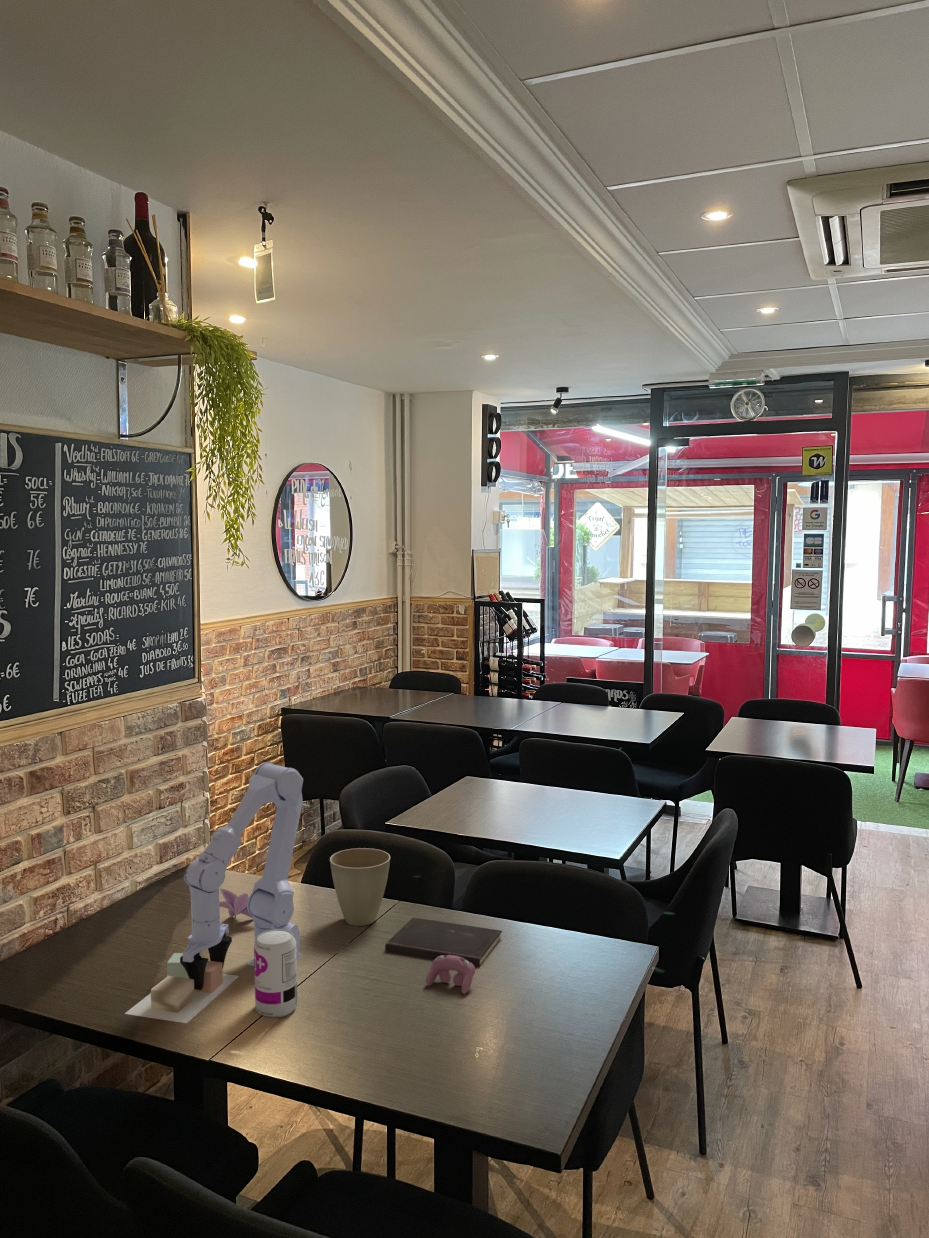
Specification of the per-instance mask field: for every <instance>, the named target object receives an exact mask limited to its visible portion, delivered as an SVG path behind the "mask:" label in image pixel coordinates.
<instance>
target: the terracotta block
mask: <svg viewBox="0 0 929 1238" xmlns="http://www.w3.org/2000/svg"><path fill="white" fill-rule="evenodd" d="M223 972H224V969H223V970H222V962H214V961H210V960H208V962H207V964H206V968H205V973H204V985H203V989H202V990H195V989H194V991H199V992H206V993H212V992H213V991H215V990H216V989H217V988H218V987H219V986H220V985H221V984H222V983H223V974H224V973H223Z"/></svg>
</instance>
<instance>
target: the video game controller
mask: <svg viewBox="0 0 929 1238" xmlns="http://www.w3.org/2000/svg"><path fill="white" fill-rule="evenodd" d="M451 971H455V972H456V973H455V974H454V976H453V978H452V974H451ZM475 973H476V966H474V965H473V964H472V963H470V962H469V961H467V960H466V959H464V958H462V957H459V956H455V955H441V956H438V957H437V958H436V959H435V960H434V959H433V961H432V963H431V965H430V968H429V970H428V972H427V974H426V978H425V984H426V987H430V986H432V985H433V984H434V982H435V981H436V979H437V977H439V980H440V982H441V983H443V984H445V983H446V984H447V983H449V982H450V981H451V980H452V983H453V984H454V985H455V986H457V987H460V986H461V993H462V994H463V995H466V994H467V993H468V992H469V990H470V989H471V985H472V983H473V978H474V975H475Z"/></svg>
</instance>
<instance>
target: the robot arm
mask: <svg viewBox="0 0 929 1238" xmlns="http://www.w3.org/2000/svg"><path fill="white" fill-rule="evenodd" d="M303 783H304V777H302V775H301V774H300V772H299V770H297V769H295V768H293V767H286V766H281V765H277V764H274V763H272V762H268V761H266V762H262V763H261V764H259V765H258V766H257V767H256V768H255V771H254V773H253V774H252V775H251V776H250V778H249V782H248V788H247V791H246V792H245V794H244V795H243V798H242V799H241V801H240V803H239V804H238V806H237V807H236V809H235V811H234V813H233V814H232V817H231V818H230V820H229V822H228V824H227V825H226V826H223V827H219V828H218V829H217V830H216V831H215V832H213V834H212V835H211V840H210V841H209V842H208V844H207V846H206V847H205V848H204V850H203V852H202V853H200V855H199V857H198V858H196V859H195V860H193V861H192V862H191V863H190V864H189V865H188V867H187V869H186V872H185V874H183V879H184V881H185V883H186V884H187V885H188V886H189V893H190V914H191V915H190V916H191V934H190V935H189V936H187V941H188V945H187V946H186V948H185V950H183V951H182V953H183V956H181V957H180V963H181V964H182V965H183V967H184V968H185V970H186V972H187V974H188V977H189V979H194V989H195V990H202V989H203V985H204V973H205V968H206V964H207V962H208V961H214V962H222V970H223V971H224V966H225V961H226V956H227V953H228V951H229V947H230V945H231V944H232V942H233V937H232V936H229V935H228V934H229V932H230V931H229V930H230V929H229V924H228V923H221V914H220V913H221V911H220V908H221V907H220V905H219V902H220V887H221V886H222V885H223V884H224V883H225V879H226V871H227V869H228V865H229V863H230V862H231V860H232V859H233V857H234V855H235V854H236V852H237V851H238V849H239V847H240V846H241V845H242V836H241V835H242V833H243V832H244V830H246V828H247V827H248V825H249V824H250V823H251V821H252V820H253V819H254V817H256V815H257V813H259V810H260V809H261V808H262V806H264V805H266V804H269V803H270V804H271V803H273V804H274V805H275V806H276V808H275V809H276V810H275V814H274V820H273V824H272V830H271V835H270V839H269V840H270V841H269V843H268V849H267V854H266V855H267V856H266V859H265V865H264V870H263V874H262V877H261V878H259V879H258V880H256V881H255V882H254V884H253V888H252V891H251V892H250V895H248V896H249V898H248V901H247V910H248V912H249V913H250V914H251V915H252V916H253V918H252V921H253V925H254V927H253V928H254V943H255V942H256V940H257V937H258V936H259V935H260V934H261V933H263V932H266V931H269V930H275V929H283V930H288V931H290V932H291V933H292V934H293V937H294V939H295V940H296V960H298V959H299V958H300V957H301V956H302V953H301V952H300V951H301V949H300V947H301V946H300V942H301V941H300V928H299V926H298V925H297V924H294V923H292V922H291V921H290V920H291V919H292V917H293V915H294V911H295V906H294V892H295V891H294V889H293V888H292V886H291V885H290V882H289V881H288V879H289V874H290V869H291V865H292V859H293V855H294V854H293V853H294V848H295V844H296V839H297V833H298V829H299V822H300V818H301V813H302V807H303V800H304V798H303V793H302V790H303ZM203 951H208V954H209V958H208V957H202V955H201V953H202V952H203ZM247 966H251V967H254V957H253V958H252V959H250V961H249V962H248V963H247Z"/></svg>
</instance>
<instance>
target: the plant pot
mask: <svg viewBox="0 0 929 1238" xmlns="http://www.w3.org/2000/svg"><path fill="white" fill-rule="evenodd" d="M329 862H330V871H331V877H332V881H333V885H334V890H335V895H336V897H337V901H338V905H339V908H340V910H341V913H342V915H343V918H344V921H345V923H346V924H348V925H351V926H354V927H357V926H358V927H362V926H363V927H364V926H369V925H371V924H373V923H374V922H375V921H376V919H377V916H378V914H379V911H380V908H381V905H382V901H383V897H384V894H385V891H386V886H387V882H388V877H389V871H390V863H391V855H390V853H388V852H386V851H384V850H381V849H377V848H366V847H363V848H361V847H358V848H350V849H349V848H348V849H344V850H339V851H338V852H335V853H333V854H332V855H331V856H330V857H329Z"/></svg>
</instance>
